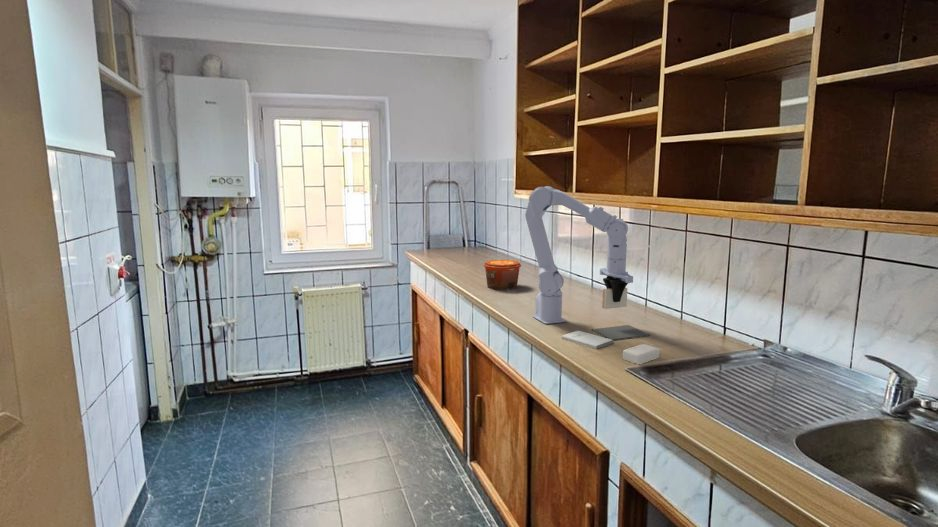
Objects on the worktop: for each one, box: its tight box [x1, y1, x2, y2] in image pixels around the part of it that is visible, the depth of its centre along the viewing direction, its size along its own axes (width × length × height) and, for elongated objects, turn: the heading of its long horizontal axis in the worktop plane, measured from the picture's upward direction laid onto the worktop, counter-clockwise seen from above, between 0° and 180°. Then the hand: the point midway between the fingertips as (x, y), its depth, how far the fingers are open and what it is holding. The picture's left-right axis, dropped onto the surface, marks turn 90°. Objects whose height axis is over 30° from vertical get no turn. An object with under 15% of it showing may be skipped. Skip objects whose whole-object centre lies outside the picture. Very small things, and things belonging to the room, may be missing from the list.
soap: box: [622, 343, 661, 365], centre depth 136 cm, size 9×6×3 cm, turn 124°
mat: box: [591, 324, 651, 341], centre depth 158 cm, size 10×14×1 cm
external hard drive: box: [561, 330, 614, 350], centre depth 151 cm, size 2×8×12 cm
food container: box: [483, 259, 522, 291], centre depth 222 cm, size 16×16×11 cm
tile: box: [601, 287, 628, 310], centre depth 163 cm, size 2×8×6 cm, turn 110°
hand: (614, 301), depth 163 cm, fingers closed on tile, 1 cm apart
